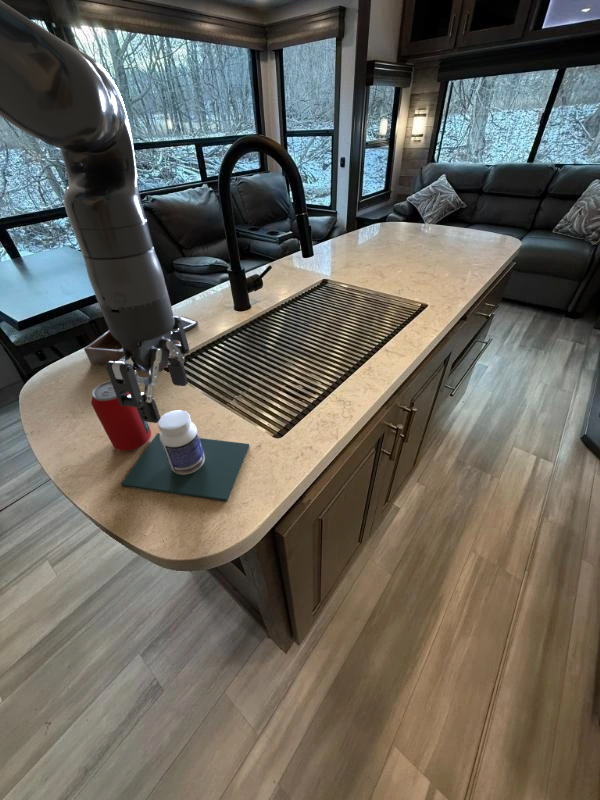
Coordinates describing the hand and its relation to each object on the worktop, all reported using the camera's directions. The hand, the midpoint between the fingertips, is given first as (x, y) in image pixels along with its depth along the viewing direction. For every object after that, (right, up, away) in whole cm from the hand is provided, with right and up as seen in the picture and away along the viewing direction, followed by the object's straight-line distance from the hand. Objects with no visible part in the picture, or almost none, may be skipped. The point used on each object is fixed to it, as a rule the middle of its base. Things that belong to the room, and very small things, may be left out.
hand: (167, 401), depth 48 cm
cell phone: (-18, +20, +49) cm, 56 cm away
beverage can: (-12, -8, +14) cm, 20 cm away
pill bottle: (0, -11, +9) cm, 14 cm away
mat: (0, -11, +9) cm, 14 cm away
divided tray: (-23, +11, +38) cm, 45 cm away
